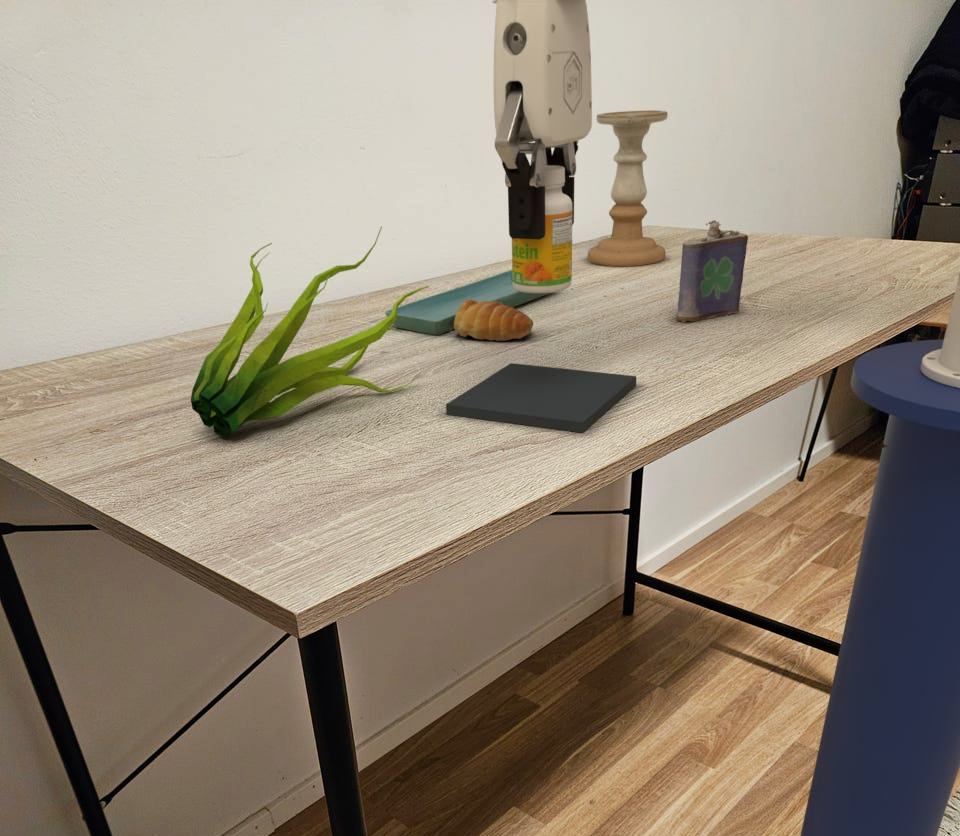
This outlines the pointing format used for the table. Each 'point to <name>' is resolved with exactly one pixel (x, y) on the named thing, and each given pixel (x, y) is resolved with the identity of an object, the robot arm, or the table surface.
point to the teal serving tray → (458, 304)
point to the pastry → (491, 321)
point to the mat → (543, 397)
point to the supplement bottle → (547, 242)
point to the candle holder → (628, 193)
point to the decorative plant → (276, 362)
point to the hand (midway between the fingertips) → (542, 229)
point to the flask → (711, 274)
